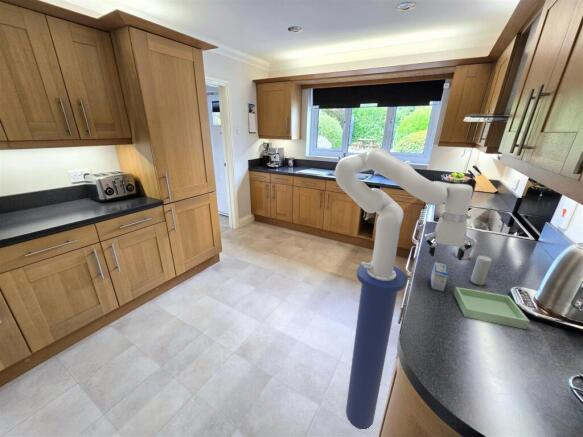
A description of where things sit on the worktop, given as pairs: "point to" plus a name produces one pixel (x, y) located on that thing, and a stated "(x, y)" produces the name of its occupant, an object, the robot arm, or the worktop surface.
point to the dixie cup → (468, 251)
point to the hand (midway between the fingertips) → (445, 256)
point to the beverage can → (481, 270)
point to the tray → (490, 307)
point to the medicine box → (439, 276)
